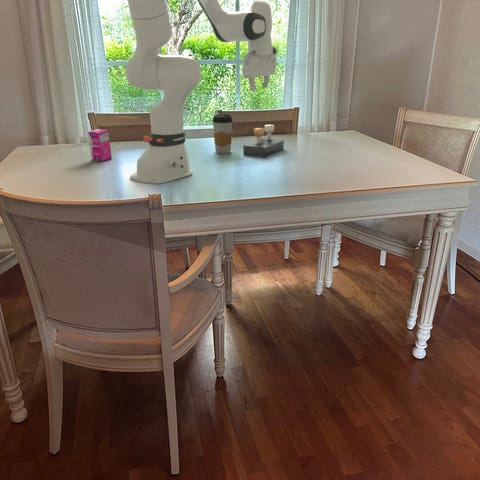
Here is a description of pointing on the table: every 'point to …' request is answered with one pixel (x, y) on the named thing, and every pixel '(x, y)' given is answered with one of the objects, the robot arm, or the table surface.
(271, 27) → the robot arm
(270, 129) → the knob cream
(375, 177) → the table surface
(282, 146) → the mount
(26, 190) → the table surface
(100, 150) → the supplement box
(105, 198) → the table surface
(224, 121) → the coffee cup
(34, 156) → the table surface
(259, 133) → the knob orange
